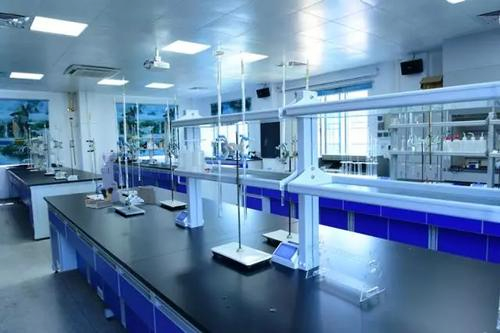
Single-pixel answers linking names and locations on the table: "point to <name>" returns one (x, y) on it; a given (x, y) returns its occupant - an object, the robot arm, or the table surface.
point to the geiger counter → (146, 194)
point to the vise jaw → (92, 201)
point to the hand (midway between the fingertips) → (107, 197)
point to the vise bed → (100, 204)
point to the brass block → (108, 196)
